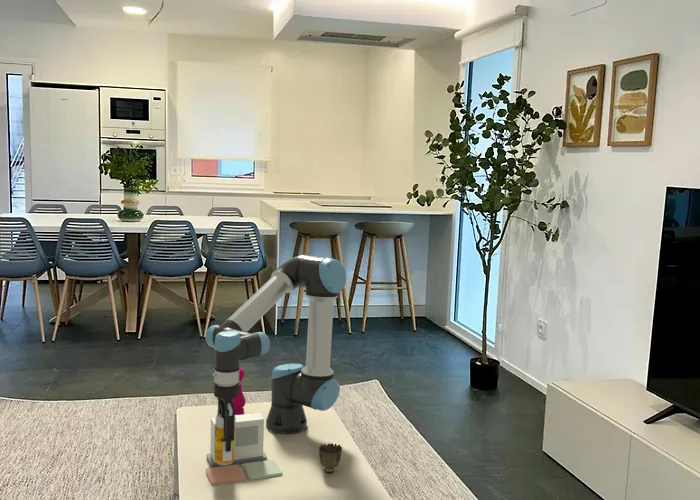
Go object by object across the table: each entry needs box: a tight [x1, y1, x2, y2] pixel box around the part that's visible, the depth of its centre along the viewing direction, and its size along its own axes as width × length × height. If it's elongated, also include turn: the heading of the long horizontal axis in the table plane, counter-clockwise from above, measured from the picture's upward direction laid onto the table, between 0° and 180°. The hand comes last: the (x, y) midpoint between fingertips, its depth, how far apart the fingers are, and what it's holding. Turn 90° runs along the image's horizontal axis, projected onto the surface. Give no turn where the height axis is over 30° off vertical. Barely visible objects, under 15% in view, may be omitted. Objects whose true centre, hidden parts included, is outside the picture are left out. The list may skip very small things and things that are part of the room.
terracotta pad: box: [204, 464, 245, 486], centre depth 203 cm, size 10×10×1 cm
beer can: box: [215, 412, 236, 465], centre depth 201 cm, size 6×6×15 cm
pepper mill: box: [232, 366, 246, 415], centre depth 254 cm, size 7×7×20 cm
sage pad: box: [242, 459, 283, 481], centre depth 207 cm, size 10×10×1 cm
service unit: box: [206, 412, 268, 468], centre depth 213 cm, size 18×8×14 cm, turn 113°
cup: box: [318, 442, 343, 474], centre depth 208 cm, size 8×7×8 cm
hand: (224, 455), depth 202 cm, fingers closed on beer can, 6 cm apart
